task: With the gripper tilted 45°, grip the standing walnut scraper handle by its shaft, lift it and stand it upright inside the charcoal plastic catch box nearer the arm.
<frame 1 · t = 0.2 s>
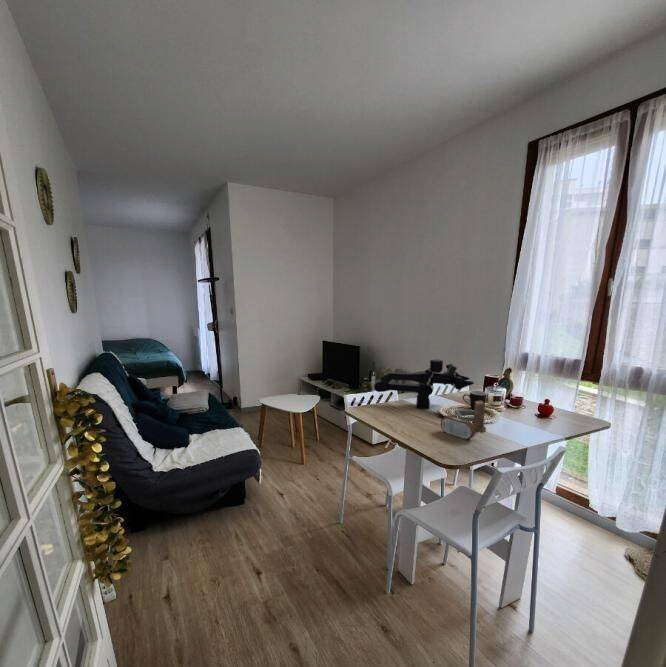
hand: (471, 380, 174), 17 cm above the table, tool horizontal, fingers open, 9 cm apart
tin: (456, 436, 143), on the table
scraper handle: (478, 429, 150), on the table
catch box: (468, 419, 162), on the table
coffee mug: (474, 410, 177), on the table
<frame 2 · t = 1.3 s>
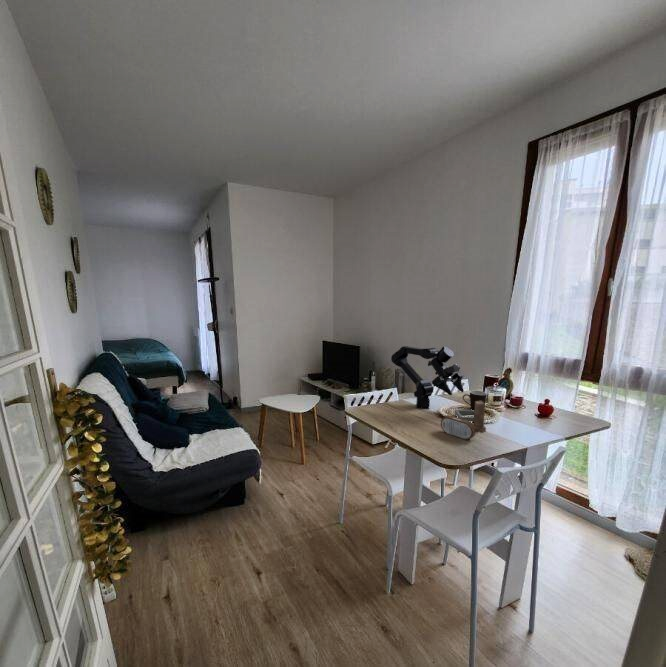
hand: (457, 393, 160), 14 cm above the table, tool tilted 45°, fingers open, 9 cm apart
nothing on the table moved.
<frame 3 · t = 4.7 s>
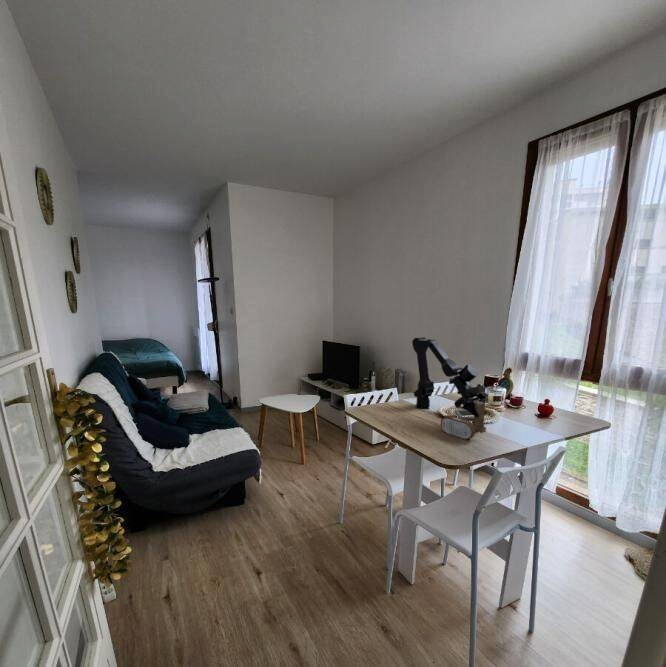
hand: (481, 416, 148), 7 cm above the table, tool tilted 45°, fingers closed on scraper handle, 5 cm apart
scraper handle: (478, 429, 150), on the table, touching gripper
everything else where it was.
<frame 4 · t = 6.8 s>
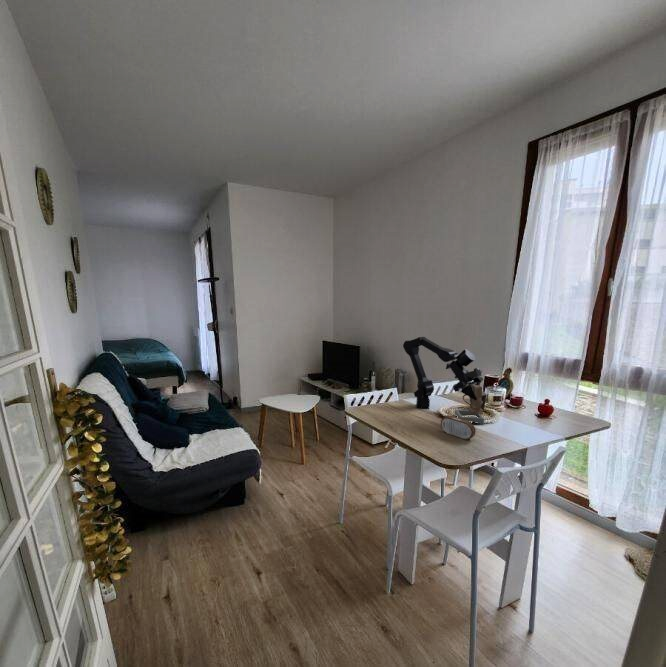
hand: (479, 398, 153), 13 cm above the table, tool tilted 45°, fingers closed on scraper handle, 5 cm apart
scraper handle: (475, 412, 155), point 7 cm above the table, touching gripper
everything else where it was.
when the fingers open (9 cm above the table, at t = 8.8 s): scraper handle drops 1 cm, resting on catch box.
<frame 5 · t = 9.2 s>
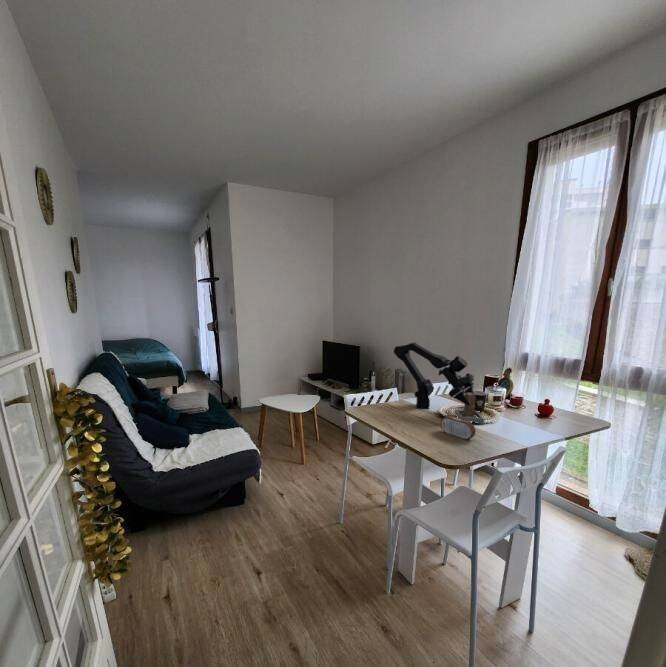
hand: (472, 402, 160), 9 cm above the table, tool tilted 45°, fingers open, 9 cm apart
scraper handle: (468, 418, 162), point 1 cm above the table, touching catch box
everything else where it was.
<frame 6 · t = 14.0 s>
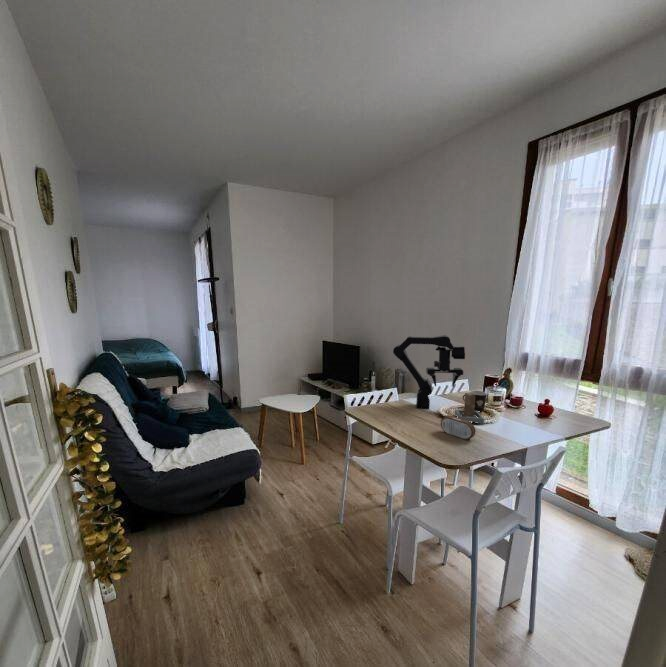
hand: (444, 386, 175), 13 cm above the table, tool pointing down, fingers open, 9 cm apart
nothing on the table moved.
at the end: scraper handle 0.1 cm off-centre on the catch box, point 0.6 cm above the catch box's base; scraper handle tilted 0°; the gripper is holding nothing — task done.
